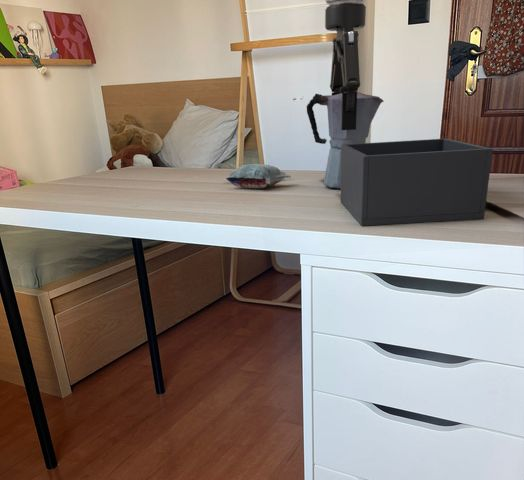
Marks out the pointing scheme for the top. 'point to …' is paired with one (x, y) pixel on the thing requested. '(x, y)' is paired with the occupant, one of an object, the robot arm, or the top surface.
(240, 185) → the packaged food
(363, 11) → the robot arm
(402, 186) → the tub
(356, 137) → the moka pot
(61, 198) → the top surface
